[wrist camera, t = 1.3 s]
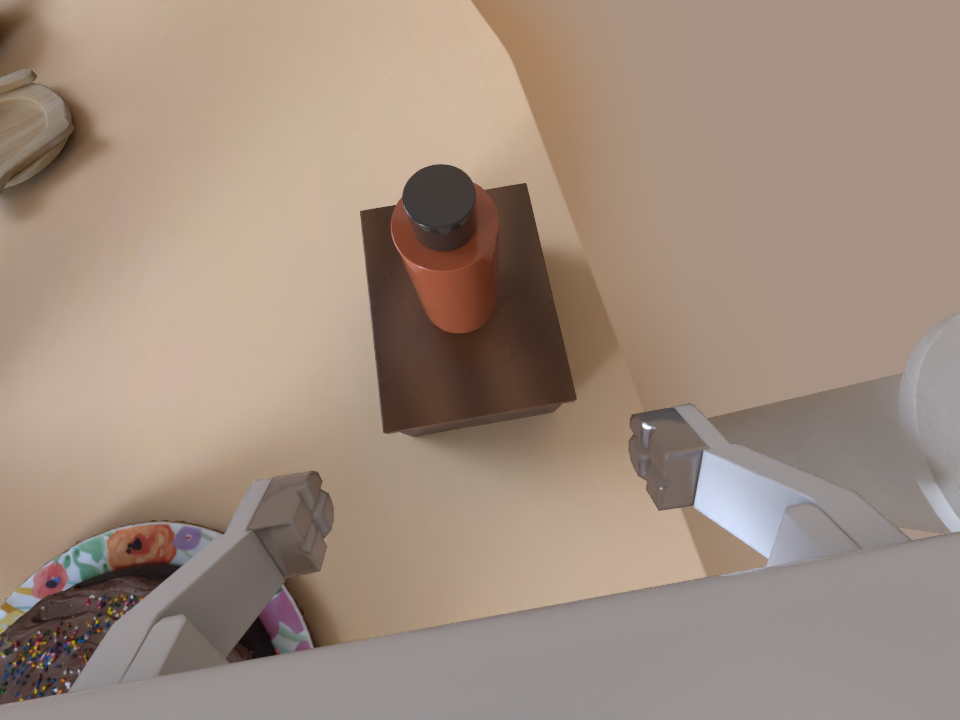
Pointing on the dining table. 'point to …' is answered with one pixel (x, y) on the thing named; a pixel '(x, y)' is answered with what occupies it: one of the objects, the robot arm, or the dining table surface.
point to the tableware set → (29, 127)
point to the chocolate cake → (113, 606)
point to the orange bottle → (449, 246)
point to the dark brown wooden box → (467, 335)
